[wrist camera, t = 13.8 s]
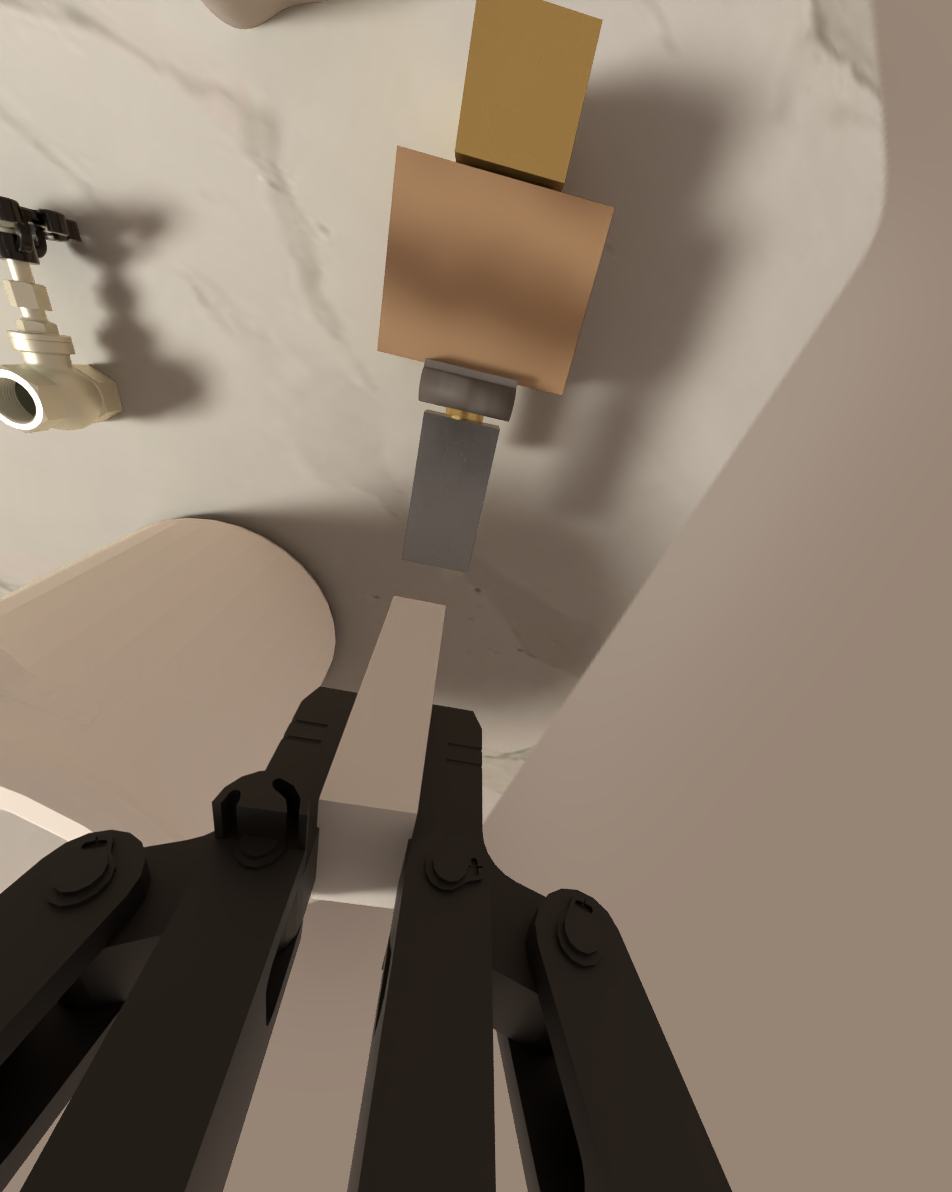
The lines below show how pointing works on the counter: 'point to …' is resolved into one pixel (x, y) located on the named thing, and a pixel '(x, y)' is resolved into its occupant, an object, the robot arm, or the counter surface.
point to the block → (485, 281)
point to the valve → (44, 336)
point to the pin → (524, 93)
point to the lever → (448, 489)
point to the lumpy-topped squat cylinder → (249, 10)
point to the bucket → (150, 684)
